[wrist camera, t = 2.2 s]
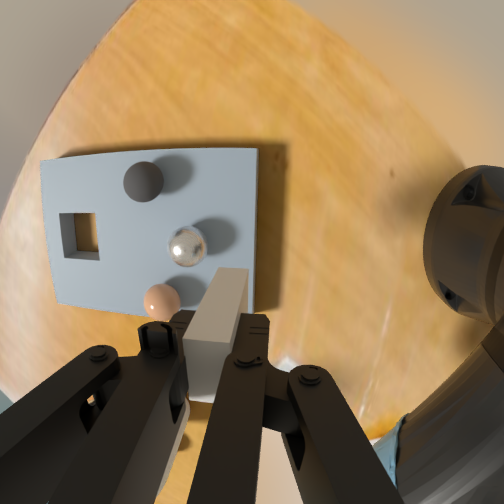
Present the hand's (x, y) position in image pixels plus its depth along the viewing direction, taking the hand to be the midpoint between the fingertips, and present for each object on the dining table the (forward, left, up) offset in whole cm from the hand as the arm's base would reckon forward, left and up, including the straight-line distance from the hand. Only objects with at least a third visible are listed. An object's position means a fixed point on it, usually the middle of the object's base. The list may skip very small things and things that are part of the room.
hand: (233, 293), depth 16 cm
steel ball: (+5, 0, -8) cm, 10 cm away
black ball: (+8, -5, -8) cm, 13 cm away
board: (+10, 0, -12) cm, 16 cm away
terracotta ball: (+7, +5, -8) cm, 12 cm away
